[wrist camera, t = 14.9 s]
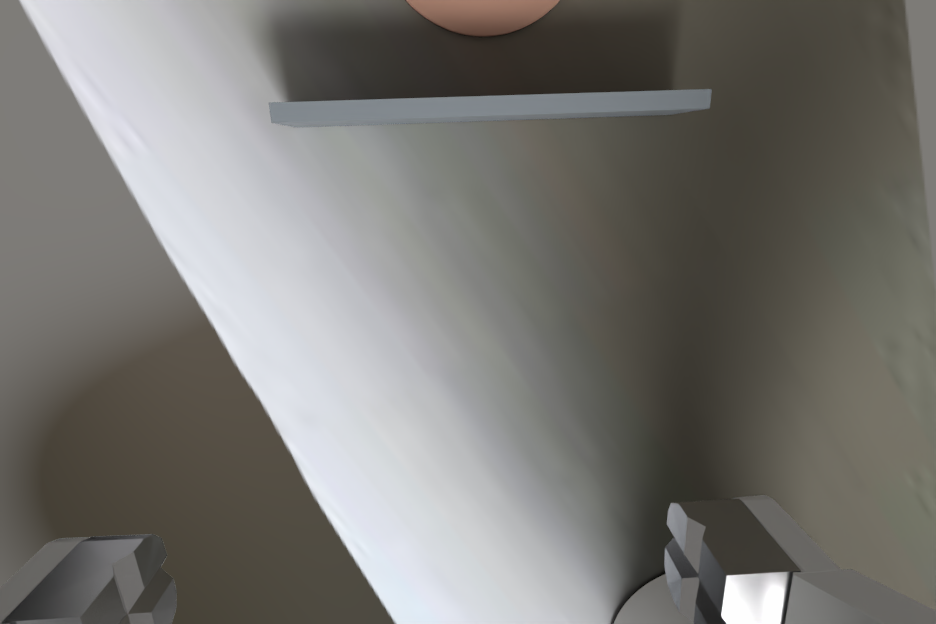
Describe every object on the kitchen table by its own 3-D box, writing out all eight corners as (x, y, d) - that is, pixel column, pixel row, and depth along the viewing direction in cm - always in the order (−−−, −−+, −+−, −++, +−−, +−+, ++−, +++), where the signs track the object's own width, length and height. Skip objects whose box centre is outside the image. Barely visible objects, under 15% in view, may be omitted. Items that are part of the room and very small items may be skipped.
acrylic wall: (671, 98, 33) (711, 89, 28) (670, 114, 33) (709, 108, 29) (293, 110, 32) (268, 102, 27) (295, 127, 32) (271, 122, 27)
